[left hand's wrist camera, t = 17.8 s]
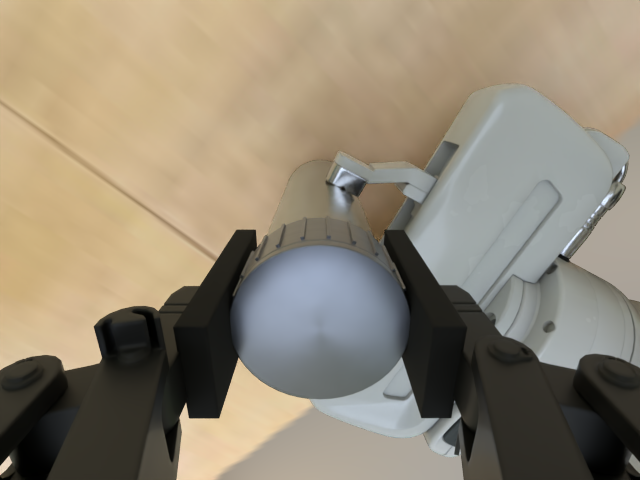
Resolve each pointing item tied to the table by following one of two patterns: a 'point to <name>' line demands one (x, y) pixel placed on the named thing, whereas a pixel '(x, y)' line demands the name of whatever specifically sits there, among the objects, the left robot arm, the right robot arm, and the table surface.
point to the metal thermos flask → (317, 199)
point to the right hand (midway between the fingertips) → (304, 217)
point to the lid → (320, 310)
